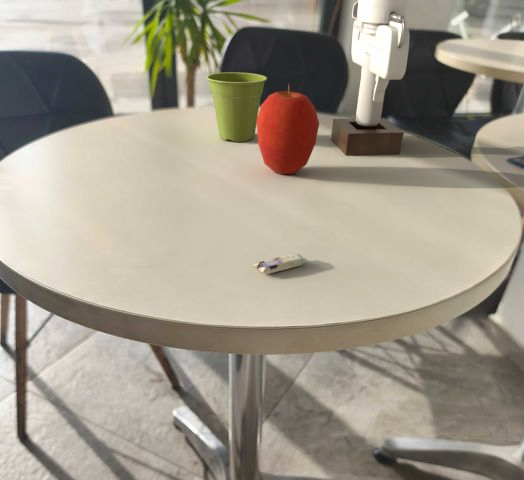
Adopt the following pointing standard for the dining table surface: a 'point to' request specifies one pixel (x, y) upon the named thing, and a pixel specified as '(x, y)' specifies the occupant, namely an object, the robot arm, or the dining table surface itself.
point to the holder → (366, 137)
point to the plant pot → (236, 103)
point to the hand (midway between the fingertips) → (371, 97)
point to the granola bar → (280, 263)
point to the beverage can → (368, 97)
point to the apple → (287, 131)
